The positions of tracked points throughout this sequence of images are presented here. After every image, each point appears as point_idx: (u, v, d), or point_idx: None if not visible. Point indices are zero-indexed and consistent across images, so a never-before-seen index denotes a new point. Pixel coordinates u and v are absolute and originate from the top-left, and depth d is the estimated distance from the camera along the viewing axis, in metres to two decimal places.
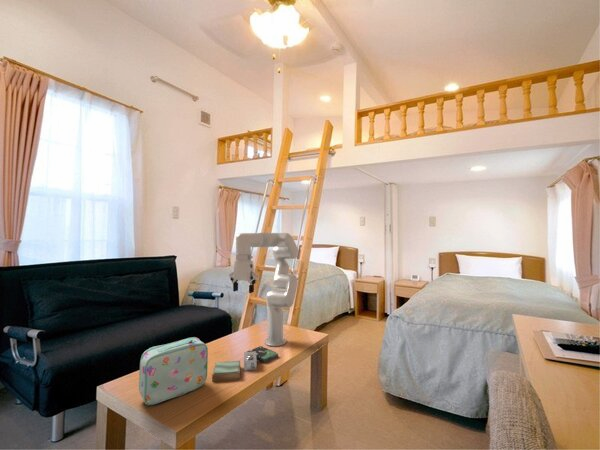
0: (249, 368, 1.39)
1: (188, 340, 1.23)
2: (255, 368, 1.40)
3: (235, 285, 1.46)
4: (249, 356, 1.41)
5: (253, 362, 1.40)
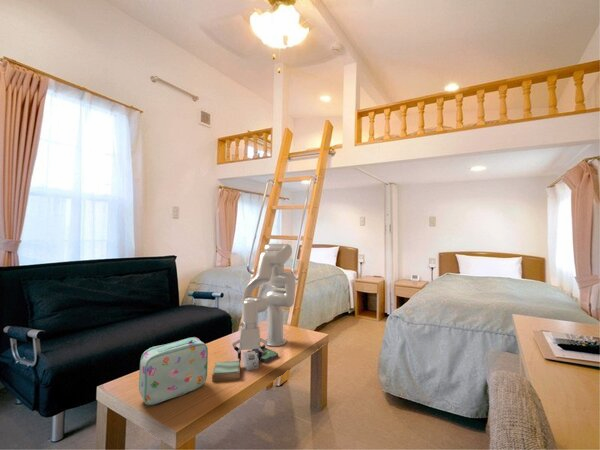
0: (251, 368, 1.40)
1: (188, 340, 1.23)
2: (257, 367, 1.41)
3: None
4: (250, 356, 1.42)
5: (255, 361, 1.40)
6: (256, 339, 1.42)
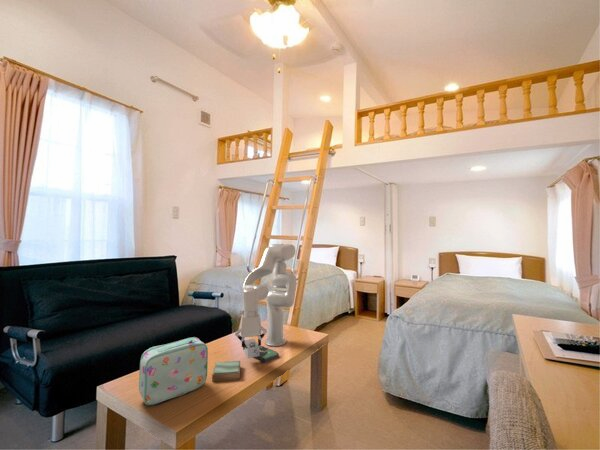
0: (252, 355, 1.42)
1: (188, 340, 1.23)
2: (258, 354, 1.43)
3: (258, 340, 1.47)
4: (251, 343, 1.43)
5: (256, 349, 1.42)
6: (257, 327, 1.43)
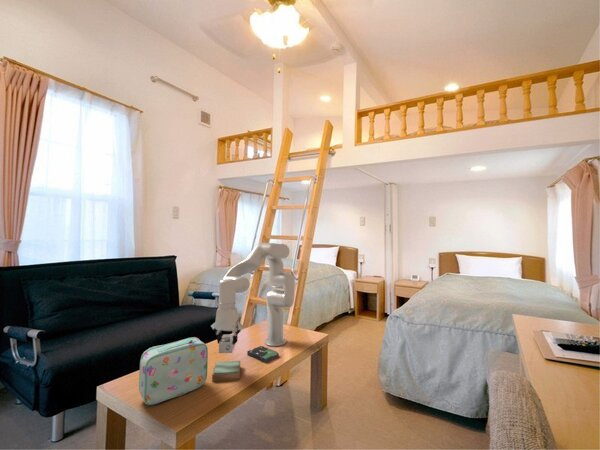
0: (224, 350, 1.32)
1: (188, 340, 1.23)
2: (230, 351, 1.32)
3: None
4: (225, 338, 1.34)
5: (228, 344, 1.32)
6: (231, 321, 1.33)
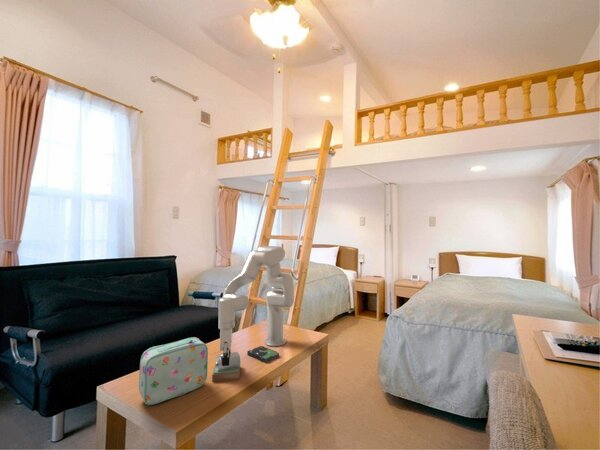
0: (217, 365, 1.34)
1: (188, 340, 1.23)
2: (218, 369, 1.32)
3: None
4: (222, 354, 1.35)
5: (217, 361, 1.33)
6: (220, 340, 1.32)
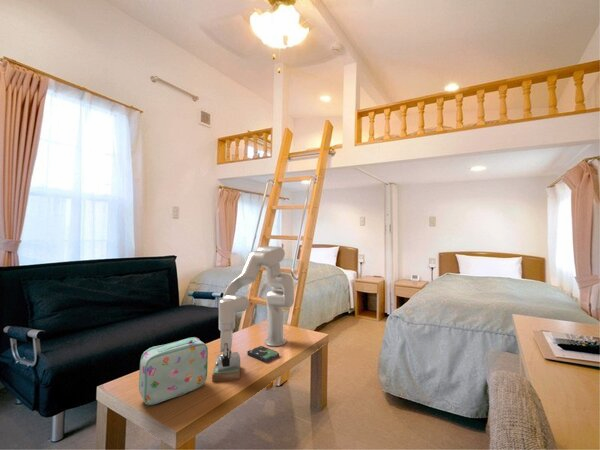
0: (217, 365, 1.34)
1: (188, 340, 1.23)
2: (218, 369, 1.32)
3: None
4: (222, 354, 1.35)
5: (217, 361, 1.33)
6: (220, 341, 1.32)
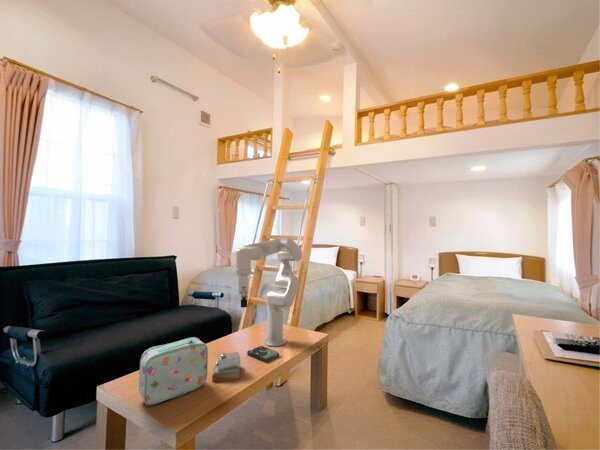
0: (217, 365, 1.34)
1: (188, 340, 1.23)
2: (218, 369, 1.32)
3: None
4: (222, 354, 1.35)
5: (217, 361, 1.33)
6: (238, 285, 1.46)
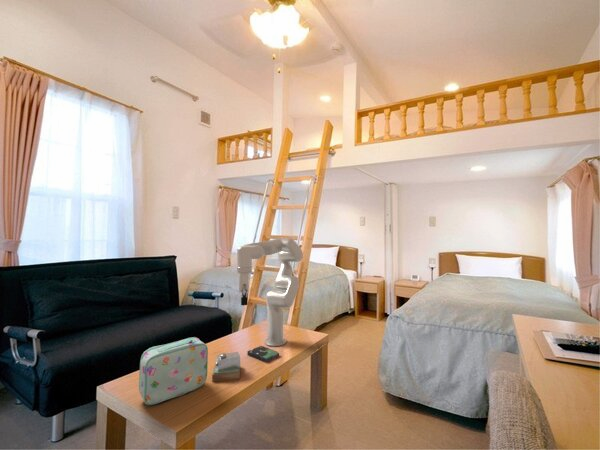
0: (217, 365, 1.34)
1: (188, 340, 1.23)
2: (218, 369, 1.32)
3: None
4: (222, 354, 1.35)
5: (217, 361, 1.33)
6: (239, 283, 1.46)
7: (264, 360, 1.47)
